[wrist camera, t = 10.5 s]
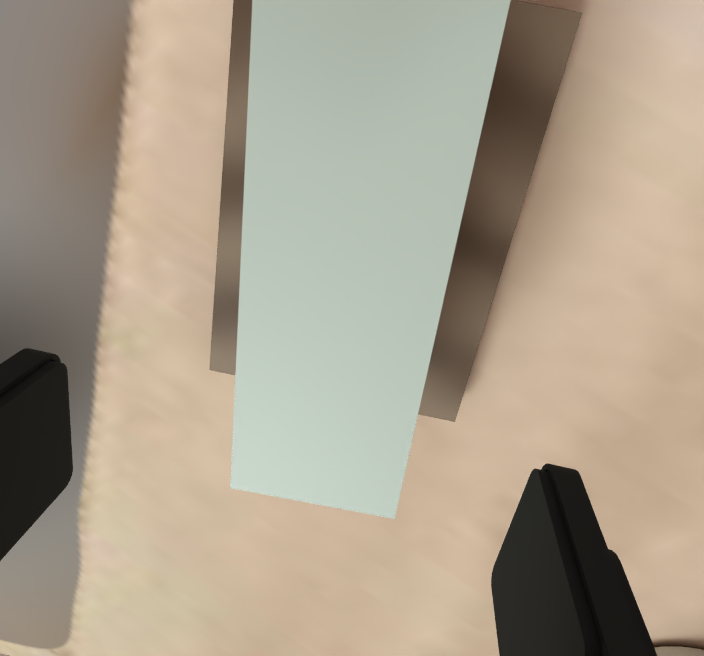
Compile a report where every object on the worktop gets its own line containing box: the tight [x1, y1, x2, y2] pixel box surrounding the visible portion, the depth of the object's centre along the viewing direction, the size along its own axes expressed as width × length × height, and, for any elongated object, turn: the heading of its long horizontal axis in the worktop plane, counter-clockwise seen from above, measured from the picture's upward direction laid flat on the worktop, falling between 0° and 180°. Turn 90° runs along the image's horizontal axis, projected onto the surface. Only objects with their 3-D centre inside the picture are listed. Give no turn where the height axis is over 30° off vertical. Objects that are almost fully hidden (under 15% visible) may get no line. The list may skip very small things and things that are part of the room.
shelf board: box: [230, 0, 511, 519], centre depth 20 cm, size 20×7×4 cm, turn 172°
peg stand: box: [210, 0, 582, 422], centre depth 25 cm, size 20×14×7 cm
